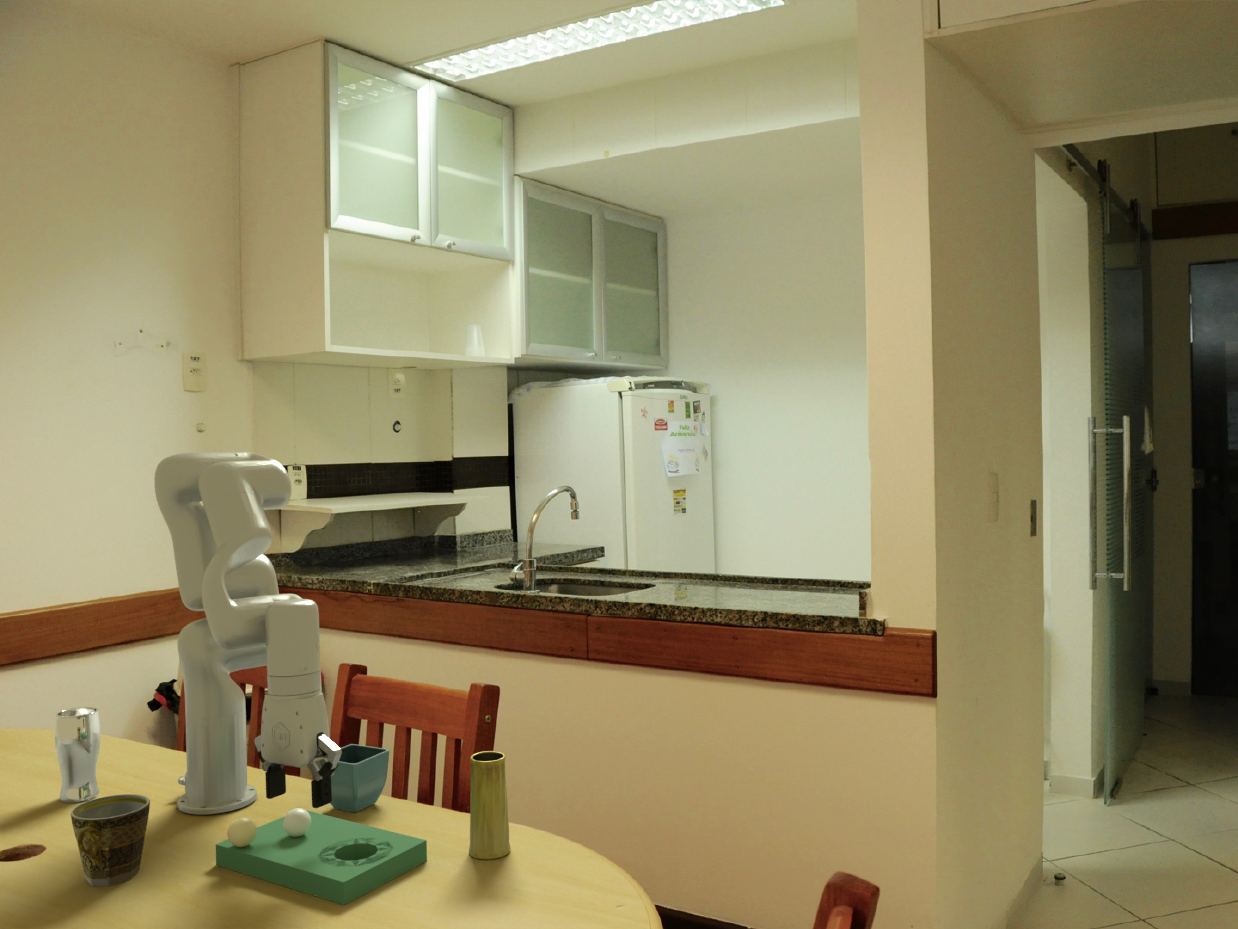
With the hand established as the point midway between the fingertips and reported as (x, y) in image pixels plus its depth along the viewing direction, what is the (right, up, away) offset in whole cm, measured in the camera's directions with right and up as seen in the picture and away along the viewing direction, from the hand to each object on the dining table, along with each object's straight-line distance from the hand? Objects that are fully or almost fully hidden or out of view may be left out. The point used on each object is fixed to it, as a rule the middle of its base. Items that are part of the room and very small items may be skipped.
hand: (298, 800), depth 148 cm
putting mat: (+4, -8, -2) cm, 9 cm away
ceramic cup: (-25, -9, -7) cm, 27 cm away
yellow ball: (-7, -4, -3) cm, 9 cm away
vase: (+28, -8, +1) cm, 29 cm away
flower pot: (+3, -8, +21) cm, 23 cm away
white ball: (0, -3, +1) cm, 4 cm away
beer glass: (-47, -9, +28) cm, 55 cm away
